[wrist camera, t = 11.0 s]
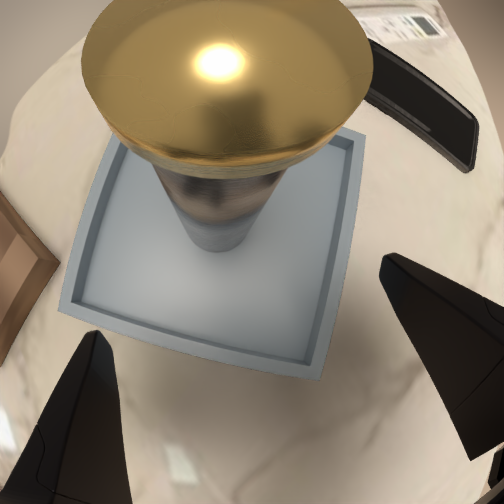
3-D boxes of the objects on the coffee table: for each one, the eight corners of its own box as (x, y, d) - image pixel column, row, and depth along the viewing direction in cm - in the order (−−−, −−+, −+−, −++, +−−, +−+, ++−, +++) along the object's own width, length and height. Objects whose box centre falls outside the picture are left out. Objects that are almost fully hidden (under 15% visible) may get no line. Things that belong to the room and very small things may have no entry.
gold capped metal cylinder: (245, 268, 19) (361, 199, 4) (168, 247, 18) (30, 122, 3) (264, 193, 19) (373, -1, 4) (190, 174, 19) (156, -45, 4)
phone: (361, 33, 23) (480, 120, 23) (357, 40, 24) (473, 124, 24) (336, 77, 21) (473, 176, 22) (331, 84, 23) (465, 179, 23)
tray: (307, 371, 19) (319, 381, 17) (75, 309, 18) (57, 310, 16) (352, 150, 21) (365, 135, 19) (145, 98, 20) (139, 79, 18)
